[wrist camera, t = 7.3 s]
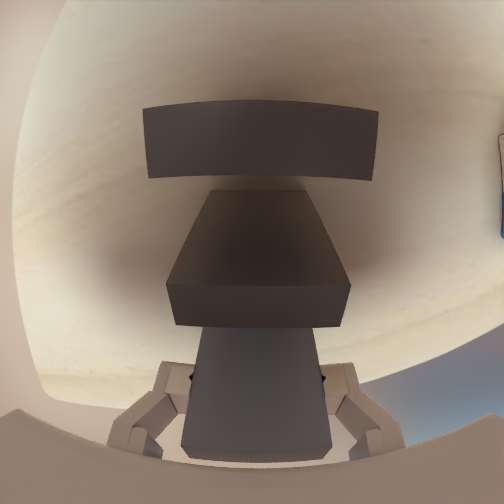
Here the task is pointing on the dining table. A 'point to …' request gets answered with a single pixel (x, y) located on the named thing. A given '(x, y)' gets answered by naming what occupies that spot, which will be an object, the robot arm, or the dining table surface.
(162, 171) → the domino
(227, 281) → the domino
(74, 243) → the dining table surface
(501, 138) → the ink box
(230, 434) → the domino
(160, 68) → the dining table surface
